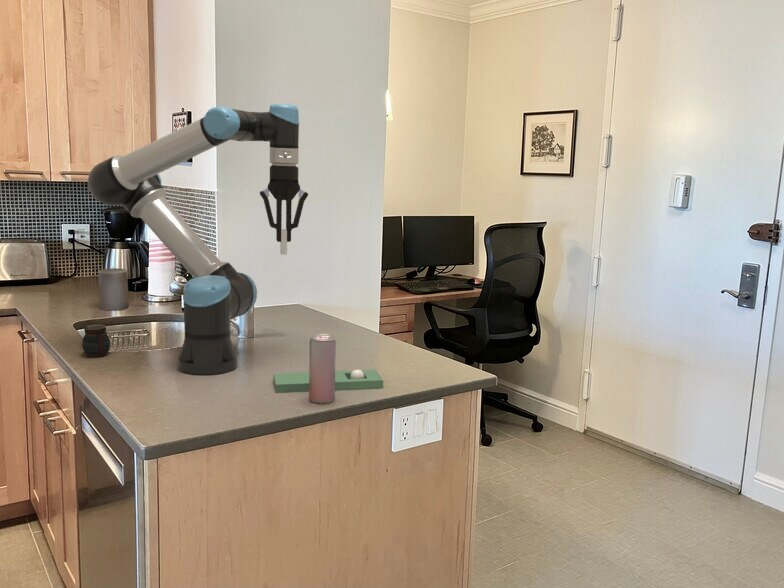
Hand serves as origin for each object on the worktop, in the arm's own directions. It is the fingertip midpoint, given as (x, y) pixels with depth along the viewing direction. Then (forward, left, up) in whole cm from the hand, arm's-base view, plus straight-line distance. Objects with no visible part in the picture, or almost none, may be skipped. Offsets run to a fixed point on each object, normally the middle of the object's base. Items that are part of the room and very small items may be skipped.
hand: (283, 253), depth 189 cm
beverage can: (+6, -35, -30) cm, 46 cm away
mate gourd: (-50, +10, -30) cm, 59 cm away
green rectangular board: (+9, -24, -29) cm, 39 cm away
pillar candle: (-54, +73, -30) cm, 96 cm away
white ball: (+16, -24, -28) cm, 40 cm away
